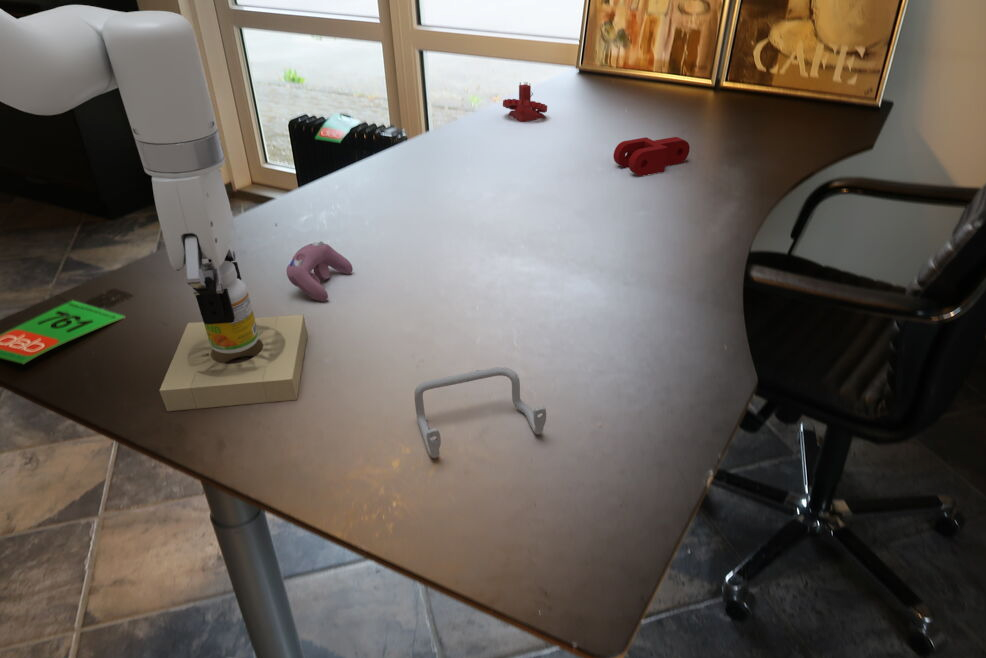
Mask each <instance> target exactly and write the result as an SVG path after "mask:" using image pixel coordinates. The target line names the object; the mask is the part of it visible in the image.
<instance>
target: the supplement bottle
mask: <svg viewBox="0 0 986 658" xmlns="http://www.w3.org/2000/svg"><path fill="white" fill-rule="evenodd" d="M232 262H233V261H231V262H229V261H224V262H223V263H222V264H221V265H220V270H221V276H222V282H223V289H227V290H228V293H229V297H230V301H231V305H232V308H233V312H234V316H235V319H234V322H232V323H220V324H205V323H204V325H205V329H206V332H207V335H208V339H209V342H210V345H211V347H212V348H213V349H214V350H215V351H217V352H221V353H237V352H241V351H244V350H246V349H248V348H250V347H252V346H253V345H254V344H255V343H256V342H257V340H258V330H257V326H256V322H255V318H256V317H255V315H254V310H253V306H252V303H251V299H250V294H249V290H248V287H247V284H246V283H245V282H244V281H243V280H242V279H241V280H240V279H238V278H237V272H236V269H235V266H234V264H233V263H232ZM207 263H212V262H209V261H208V262H205V263H204V264H207ZM203 273H204V275H205V277H210V278H211V279H213V280H214V278H213V272H212V270H208V271H203Z"/></svg>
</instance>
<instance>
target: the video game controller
mask: <svg viewBox="0 0 986 658" xmlns="http://www.w3.org/2000/svg"><path fill="white" fill-rule="evenodd" d="M329 267H330V268H332V269H333V270H335V271H337V272H339V273H342V274H346V275H349V274H351V273H352V272H353V270H354V269H353V265H352V263H351V262H350V261H349V260H348V259H347V258H346V257H345V256H343V255H342V254H340V253H339V252H338V251H337V250H335V249H334V248H333V247H331V246H330V245H329V244H327V243H324V242H323V241H318V242H317V241H316V242H313V243H309V244H306V245H304V246H302V247H301V248H299V249H298V250H297V252H295V254H294V256H293V257H292V259H291V261H290V263H289V264H288V265H287V266H286V276H287V278H288V280H289V282H290V283H291V284H292V285H293V286H295V287H297V288H299V290H300V291H301V292H303V293H304V294H305V295H307V296H308V297H310V298H312V299H313V300H316V301H317V302H326V301H327V300H328V298H329V294H328V292H327V290H326V289H325V287H323V285H322V284H321V282H322V281H325V280H327V279H329V278H330V277H331V272H330V268H329Z"/></svg>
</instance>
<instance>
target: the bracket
mask: <svg viewBox="0 0 986 658" xmlns="http://www.w3.org/2000/svg"><path fill="white" fill-rule="evenodd" d="M499 376H501V377H507V378H508V379H509V380H510V382H511V400H512V403H513V405H514V407H515V408H516V409H517V410H518V411H520V412H521V413H522V414H524V415H525V417H526V419H527V421H528V423H529V425H530V428H531V429H532V431H533V433H534V435H535V434H536V435H541V434H542V433H543V431H544V427H545V425H546V421H547V410H546V406H538V407H535V408H534V410H532V409H531V407H530V406H529V405H528V404H526V403H524V402H523V400H522V399H521V383H520V381H521V380H520V377H519V375H518V374H517V372H515V370H513V369H511V368H508V367H504V366H503V367H501V366H499V367H496V366H495V367H491V368H486V369H480V370H476V371H470V372H465V373H460V374H455V375H451V376H446V377H445V376H444V377H440V378H436V379H430V380H427V381H423V382H421V383H420V384H418V385H417V386H416V388H415V389H414V407H415V414H416V420H417V423H418V426H419V429H420V432H421V436H422V439H423V442H424V444H425V447H426V450H427V452H428V454H429V457H430V458H431V459H437V458H438V457H439V455H440V448H441V443H442V439H441V433H440V430H439V429H438V428H436V427H435V428H430V427H429V425H428V422H427V419H426V413H425V405H424V393H425V392H426V391H429V390H434V389H439V388H443V387H449V386H454V385H459V384H464V383H469V382H474V381H479V380H482V379H488V378H493V377H499ZM539 415H540V416H539ZM433 437H435V439H434V438H433Z"/></svg>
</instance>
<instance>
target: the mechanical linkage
mask: <svg viewBox="0 0 986 658" xmlns="http://www.w3.org/2000/svg"><path fill="white" fill-rule="evenodd" d="M690 149H691V148H690V144H689V142H688V141H687V140H685V139H682V138H681V137H678V136H671V137H665V138H661V139H654V140H653V139H651V138H649V137H647V136H646V137H640V138H634V139H629V140H628V139H627V140H623V141H620V142H619V143H618V144H617V145H616V146H615V149H614V151H613V161H614V162H615V164H617V165H618V166H620V167H622V168H625V169H627V168H626V167H628V168H629V169H628V170H629V171H630V172H631V173H632V174H635V175H636V176H638V177H644V176H643V175H646V176H649V175H648V174H651V175H655V174H654V173H656V174H659V173H658V172H661V173H665V172H664V171H666V167H669V166H668V165H671V166H675V165H674V164H676V165H679V164H682V163H684V162H685V161H686V160H687V158H688V156H689V154H690ZM665 166H666V167H665Z"/></svg>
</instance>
